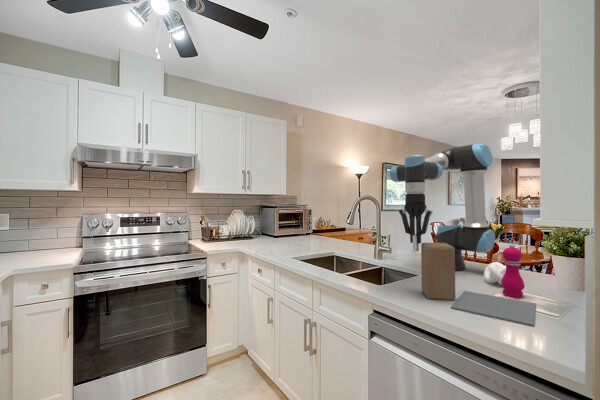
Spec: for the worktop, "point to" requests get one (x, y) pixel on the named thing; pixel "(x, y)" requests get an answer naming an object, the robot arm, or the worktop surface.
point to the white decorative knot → (494, 272)
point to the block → (438, 270)
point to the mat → (496, 307)
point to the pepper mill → (512, 273)
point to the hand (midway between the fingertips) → (415, 251)
